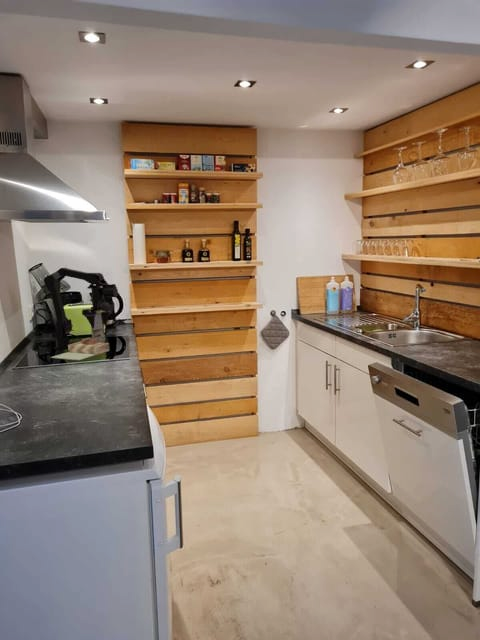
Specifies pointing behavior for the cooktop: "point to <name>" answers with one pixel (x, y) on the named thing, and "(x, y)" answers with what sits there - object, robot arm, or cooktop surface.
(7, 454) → the cooktop surface
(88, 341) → the walnut tile
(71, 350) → the birch riser
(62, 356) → the sage mat
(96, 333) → the coffee box
